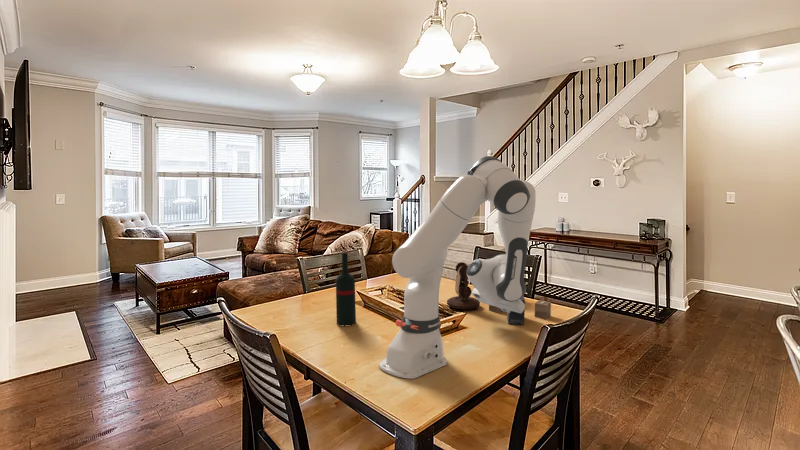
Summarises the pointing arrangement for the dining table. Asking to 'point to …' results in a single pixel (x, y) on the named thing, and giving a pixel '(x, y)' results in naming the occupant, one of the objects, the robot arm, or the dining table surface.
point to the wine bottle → (345, 295)
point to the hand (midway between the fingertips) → (507, 310)
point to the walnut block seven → (494, 309)
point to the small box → (516, 315)
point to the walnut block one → (543, 309)
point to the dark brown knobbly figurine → (462, 290)
